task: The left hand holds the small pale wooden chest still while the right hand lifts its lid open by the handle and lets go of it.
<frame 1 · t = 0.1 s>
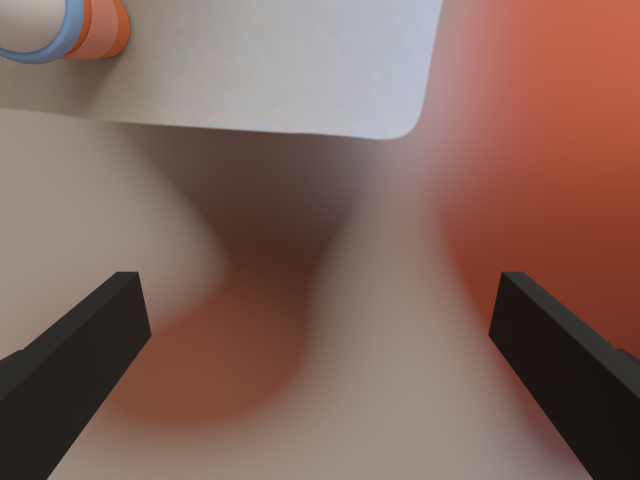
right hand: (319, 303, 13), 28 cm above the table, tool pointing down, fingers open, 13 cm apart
cup with straw: (99, 22, 34), on the table
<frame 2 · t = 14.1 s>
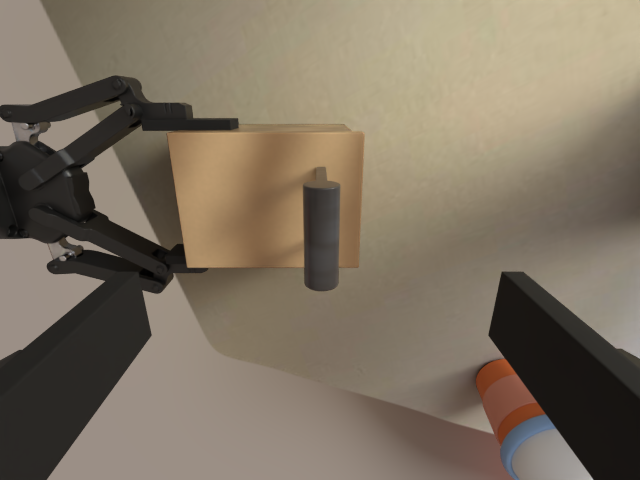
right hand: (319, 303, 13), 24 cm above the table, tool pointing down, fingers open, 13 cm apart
left hand: (240, 193, 29), fingers closed on chest, 10 cm apart
chest: (279, 177, 35), on the table, touching left hand
lid: (262, 218, 23), point 13 cm above the table, hinge at -0.1°
cup with straw: (499, 376, 44), on the table
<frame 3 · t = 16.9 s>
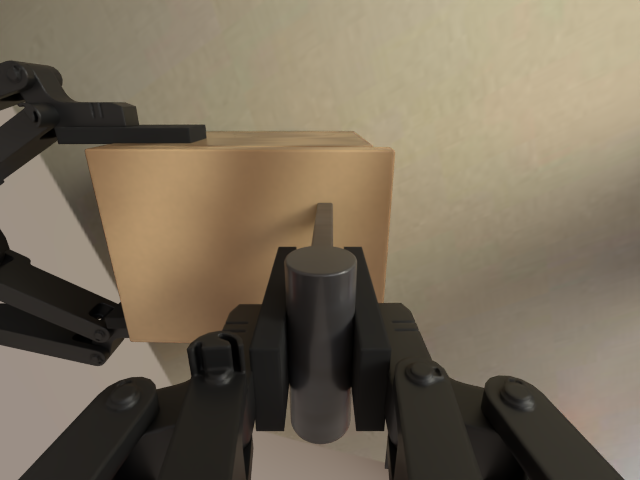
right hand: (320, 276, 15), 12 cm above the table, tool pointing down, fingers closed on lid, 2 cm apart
chest: (268, 201, 27), on the table, touching left hand
lid: (228, 290, 14), point 14 cm above the table, hinge at 2.5°, touching right hand
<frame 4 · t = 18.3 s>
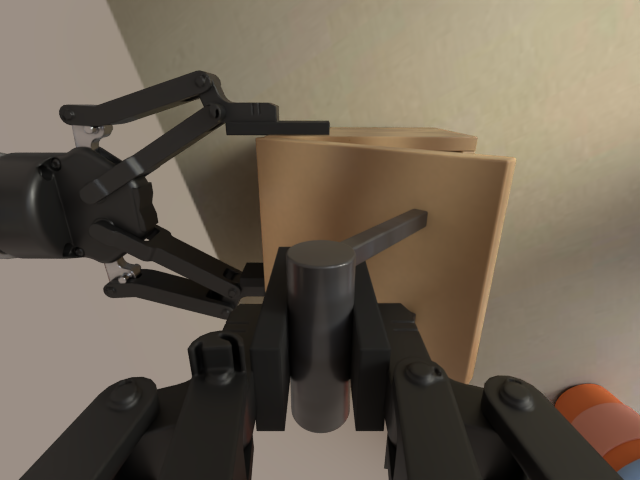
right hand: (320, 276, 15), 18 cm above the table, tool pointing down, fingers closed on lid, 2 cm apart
left hand: (328, 206, 25), fingers closed on chest, 10 cm apart
chest: (356, 187, 31), on the table, touching left hand
lid: (304, 269, 16), point 17 cm above the table, hinge at 39.1°, touching right hand
cup with straw: (579, 402, 40), on the table
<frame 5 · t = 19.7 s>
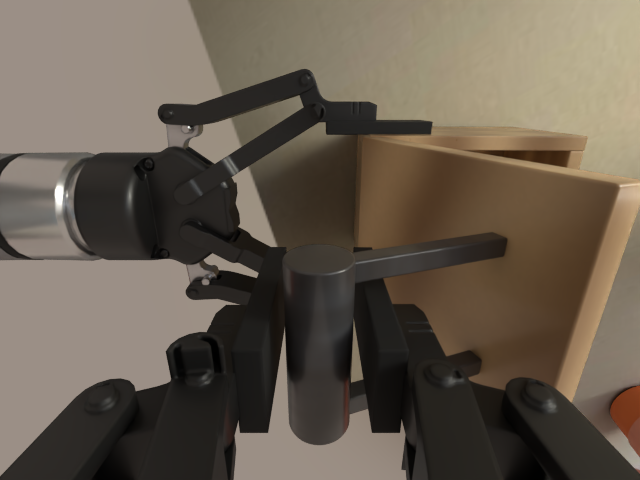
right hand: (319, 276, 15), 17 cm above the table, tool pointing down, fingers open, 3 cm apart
left hand: (417, 207, 25), fingers closed on chest, 10 cm apart
chest: (428, 187, 31), on the table, touching left hand
lid: (361, 275, 15), point 17 cm above the table, hinge at 68.5°
cup with straw: (635, 403, 40), on the table
when the left hand's fingers open (7 cm above the table, at t = 24.0 s): chest stays where it is, on the table.
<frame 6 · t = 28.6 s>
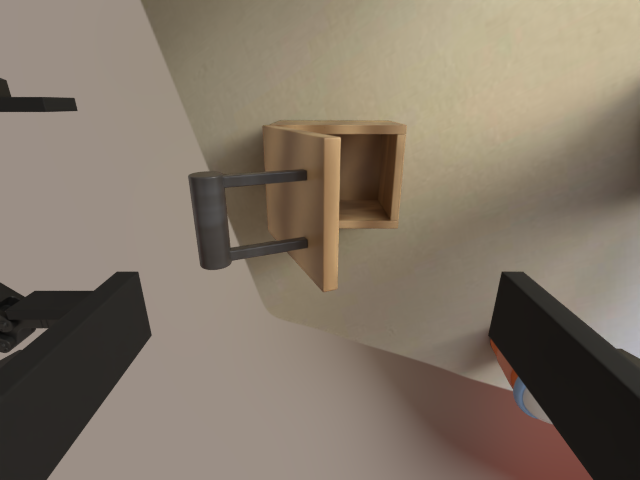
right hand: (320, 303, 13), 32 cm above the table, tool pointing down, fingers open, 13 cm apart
chest: (333, 164, 43), on the table
lid: (248, 201, 26), point 17 cm above the table, hinge at 66.2°
cup with straw: (510, 336, 52), on the table
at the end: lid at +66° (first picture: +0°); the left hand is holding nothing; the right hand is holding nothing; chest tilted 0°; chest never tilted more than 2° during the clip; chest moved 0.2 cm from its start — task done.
